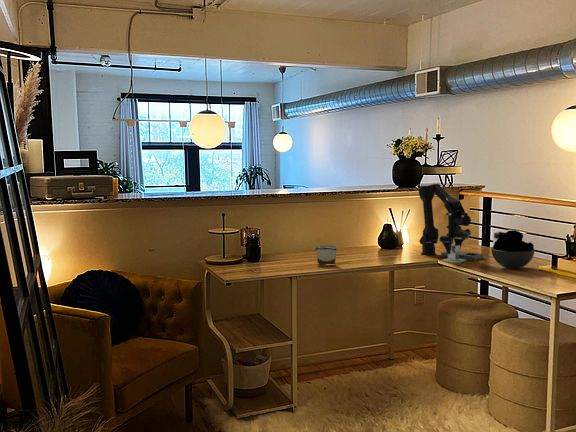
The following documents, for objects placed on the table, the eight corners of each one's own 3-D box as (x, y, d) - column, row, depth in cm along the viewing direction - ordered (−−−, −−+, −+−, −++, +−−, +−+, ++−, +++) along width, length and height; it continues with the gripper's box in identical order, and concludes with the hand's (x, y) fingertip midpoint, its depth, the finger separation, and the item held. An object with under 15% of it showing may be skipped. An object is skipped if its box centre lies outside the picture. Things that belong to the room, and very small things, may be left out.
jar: (502, 256, 312) (503, 234, 310) (490, 254, 318) (490, 233, 317) (512, 254, 317) (513, 233, 315) (500, 252, 323) (500, 231, 322)
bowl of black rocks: (530, 264, 287) (530, 228, 285) (538, 273, 267) (538, 233, 265) (488, 264, 291) (488, 228, 289) (493, 272, 272) (493, 233, 270)
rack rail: (440, 257, 315) (440, 252, 315) (450, 254, 322) (450, 250, 322) (473, 261, 301) (473, 256, 300) (483, 258, 307) (483, 253, 307)
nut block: (447, 260, 304) (447, 245, 303) (452, 258, 307) (452, 244, 306) (455, 260, 301) (455, 246, 300) (459, 259, 304) (459, 245, 303)
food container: (340, 263, 306) (339, 245, 305) (337, 265, 300) (337, 247, 299) (318, 262, 310) (318, 244, 309) (315, 265, 304) (314, 246, 303)
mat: (441, 260, 305) (441, 259, 305) (449, 258, 310) (449, 257, 310) (458, 262, 298) (458, 262, 298) (466, 260, 303) (466, 259, 303)
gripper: (458, 227, 290) (458, 257, 291) (476, 223, 302) (476, 252, 304) (439, 225, 298) (439, 254, 299) (457, 222, 310) (457, 249, 312)
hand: (453, 252), depth 303 cm, fingers open, 9 cm apart
